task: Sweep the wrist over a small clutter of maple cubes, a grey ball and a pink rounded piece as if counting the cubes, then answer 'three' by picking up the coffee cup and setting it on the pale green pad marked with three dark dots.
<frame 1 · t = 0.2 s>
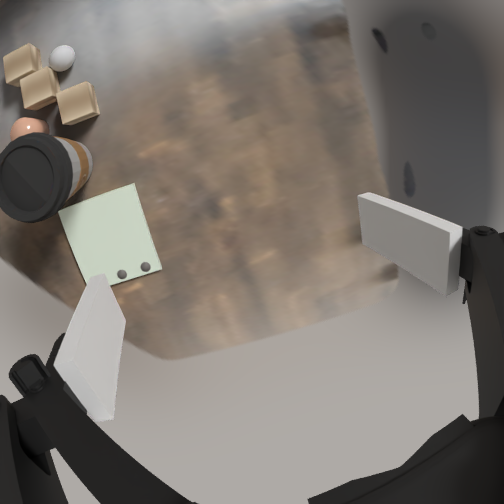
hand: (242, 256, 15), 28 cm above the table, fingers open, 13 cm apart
coffee cup: (71, 165, 36), on the table
pink rounded piece: (37, 132, 33), on the table
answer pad: (109, 238, 40), on the table
maple cube b: (46, 91, 31), on the table
maple cube a: (29, 68, 29), on the table
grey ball: (62, 58, 29), point 2 cm above the table
maple cube c: (82, 105, 33), on the table
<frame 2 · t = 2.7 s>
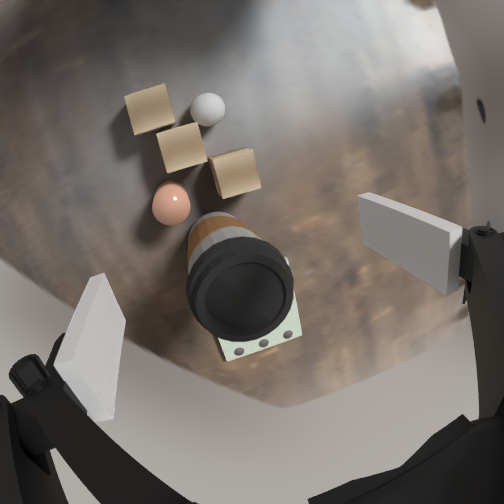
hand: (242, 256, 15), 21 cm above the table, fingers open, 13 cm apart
coffee cup: (215, 237, 37), on the table
pink rounded piece: (170, 197, 34), on the table
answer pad: (254, 310, 42), on the table
maple cube b: (180, 146, 32), on the table
maple cube a: (151, 112, 30), on the table
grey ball: (207, 109, 30), point 2 cm above the table
maple cube c: (230, 169, 35), on the table
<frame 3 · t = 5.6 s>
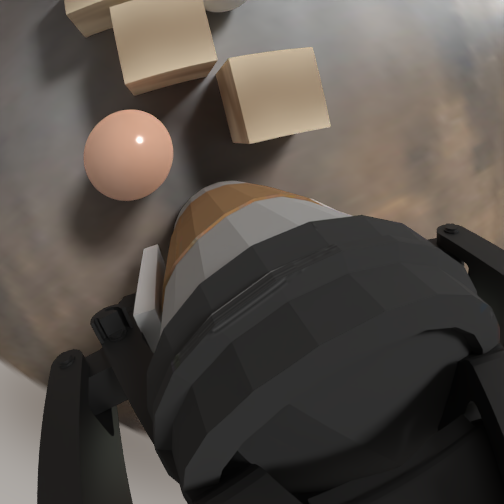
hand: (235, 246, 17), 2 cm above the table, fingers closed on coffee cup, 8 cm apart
coffee cup: (227, 233, 19), on the table, touching gripper
pink rounded piece: (138, 150, 16), on the table
maple cube b: (162, 53, 14), on the table
maple cube c: (258, 100, 17), on the table
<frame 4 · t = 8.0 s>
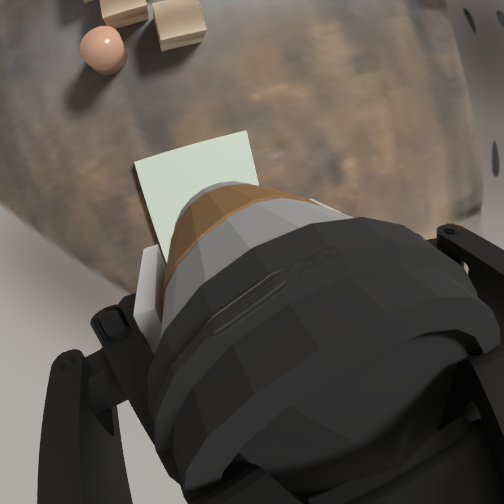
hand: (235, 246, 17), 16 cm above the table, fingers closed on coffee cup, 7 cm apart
coffee cup: (227, 233, 19), point 14 cm above the table, touching gripper
pink rounded piece: (109, 58, 24), on the table
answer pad: (205, 203, 32), on the table
maple cube b: (125, 9, 23), on the table
maple cube c: (177, 29, 25), on the table
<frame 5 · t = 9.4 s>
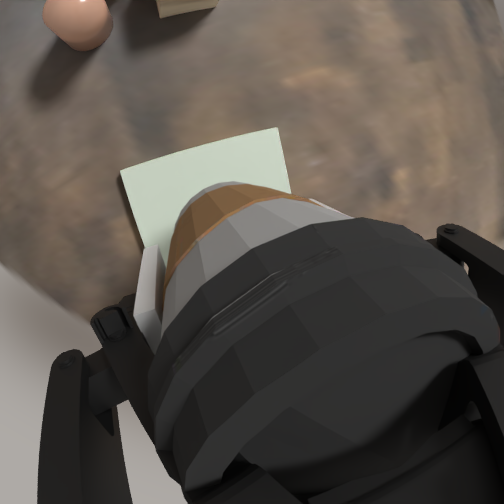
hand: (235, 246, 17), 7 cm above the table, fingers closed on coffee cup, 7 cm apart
coffee cup: (227, 234, 19), point 5 cm above the table, touching gripper
pink rounded piece: (88, 28, 16), on the table
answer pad: (219, 226, 23), on the table
when the fingers open (4 cm above the table, at t = 10.4 s): coffee cup drops 1 cm, resting on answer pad.
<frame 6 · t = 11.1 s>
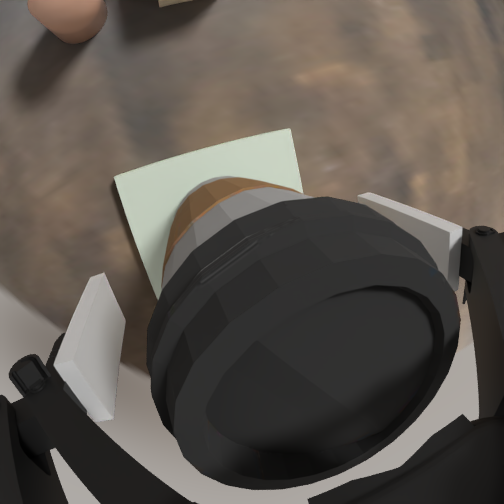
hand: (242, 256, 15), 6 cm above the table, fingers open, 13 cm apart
coffee cup: (223, 225, 20), point 1 cm above the table, touching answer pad
pink rounded piece: (80, 19, 14), on the table
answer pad: (225, 238, 21), on the table
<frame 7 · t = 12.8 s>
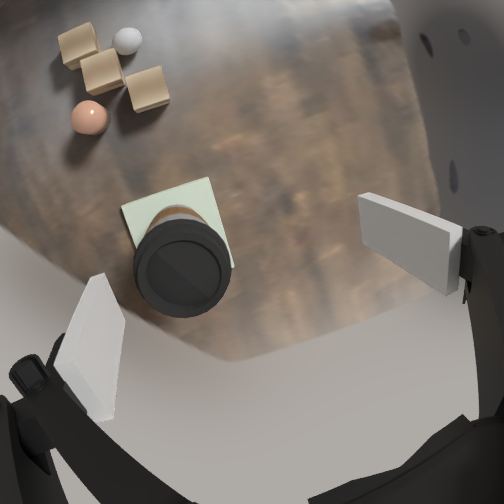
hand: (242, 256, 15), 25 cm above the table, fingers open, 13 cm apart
coffee cup: (176, 228, 39), point 1 cm above the table, touching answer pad
pink rounded piece: (96, 120, 33), on the table
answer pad: (179, 235, 40), on the table
maple cube b: (106, 76, 31), on the table
maple cube a: (84, 51, 29), on the table
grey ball: (127, 41, 29), point 2 cm above the table
maple cube c: (149, 93, 33), on the table
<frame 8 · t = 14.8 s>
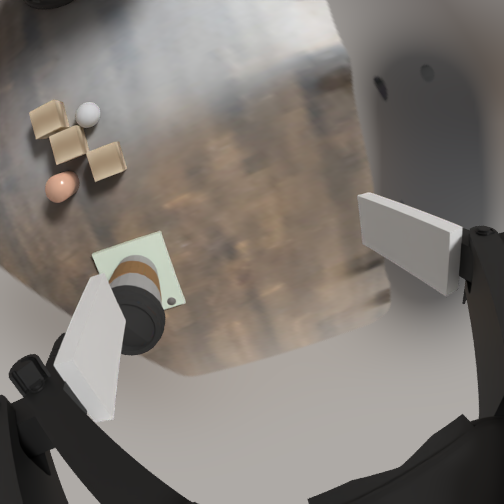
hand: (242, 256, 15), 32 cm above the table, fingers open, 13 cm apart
coffee cup: (136, 273, 46), point 1 cm above the table, touching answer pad
pink rounded piece: (68, 183, 40), on the table
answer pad: (139, 277, 47), on the table
maple cube b: (73, 144, 38), on the table
maple cube a: (54, 120, 36), on the table
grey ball: (87, 115, 36), point 2 cm above the table
maple cube c: (109, 159, 40), on the table
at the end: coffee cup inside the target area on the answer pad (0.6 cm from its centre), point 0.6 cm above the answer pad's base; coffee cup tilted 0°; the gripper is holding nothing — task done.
